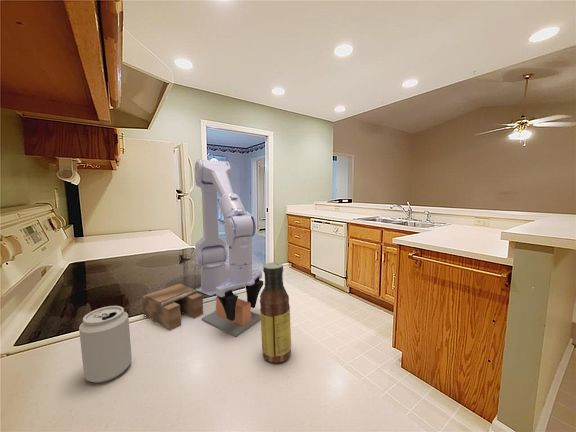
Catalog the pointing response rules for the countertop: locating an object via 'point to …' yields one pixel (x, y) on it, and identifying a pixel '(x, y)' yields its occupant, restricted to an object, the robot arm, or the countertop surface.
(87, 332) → the can
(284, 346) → the sauce bottle
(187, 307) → the brown wooden stand
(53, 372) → the countertop surface
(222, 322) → the mat
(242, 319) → the orange clay brick
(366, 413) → the countertop surface
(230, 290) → the robot arm
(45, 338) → the countertop surface
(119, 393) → the countertop surface
